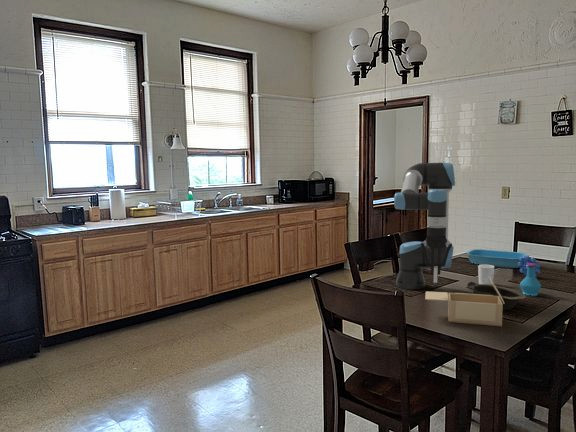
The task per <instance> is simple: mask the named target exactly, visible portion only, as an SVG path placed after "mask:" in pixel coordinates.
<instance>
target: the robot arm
mask: <svg viewBox="0 0 576 432" xmlns="http://www.w3.org/2000/svg"><path fill="white" fill-rule="evenodd" d="M455 180H456V177H455V171H454V164H453V163H451V162H444V161H443V162H420V163H417V164H414V165H412V166H410V167H409V168H408V169H406V171H405V172H404V174H403V177H402V182H403V183H402V188H401V190H400V192H395V194H394V196H393V197H394V198H393V204H394V208H395V210H403V211H404V210H406V211H408V210H410V211H411V210H412V211H413V210H415V211H417V210H418V211H427V218H426V219H427V227H426V238H425V240H424V241H407V242H404V243H402V244H401V245H400V246H399V252H398V254H399V268H398V269H399V271H398V273H397V277H396V280H395V286H396V287H397V288H400V289H405V290H423V289H425V288H426V280H425V278H424V274H423V268H430V274H431V275H433V283H434V284H437V283H438V275H439V276H440V275H441V270H442V269H449V268H451V266H452V261H453V256H454V255H453V254H454V245H453V244H452V242H451V241H450V240H449V239H448V237H449V235H448V234H449V204H450V203H449V202H450V201H449V199H450V198H449V197H450V192H452V190H453V187H454V186H456V181H455ZM420 186H426V187H428V188H427V189H428V192H419V190H420Z"/></svg>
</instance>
